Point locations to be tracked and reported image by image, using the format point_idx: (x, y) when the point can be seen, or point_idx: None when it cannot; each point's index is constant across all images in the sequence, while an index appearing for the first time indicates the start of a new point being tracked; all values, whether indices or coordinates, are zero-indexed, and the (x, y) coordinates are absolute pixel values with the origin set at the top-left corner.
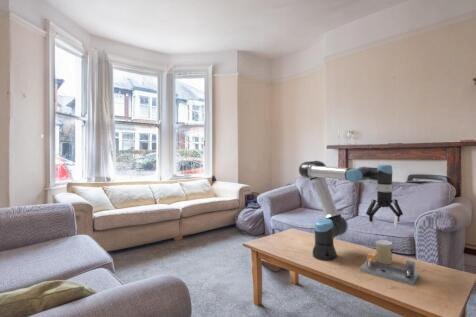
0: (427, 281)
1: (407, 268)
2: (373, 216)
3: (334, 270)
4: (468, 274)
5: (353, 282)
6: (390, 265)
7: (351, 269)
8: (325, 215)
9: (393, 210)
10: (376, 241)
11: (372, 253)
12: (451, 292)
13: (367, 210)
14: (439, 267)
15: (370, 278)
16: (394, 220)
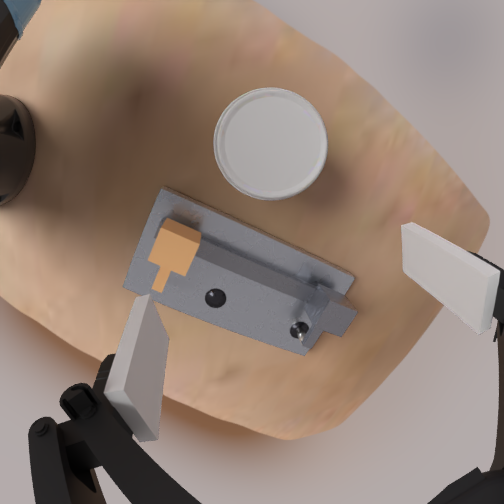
0: (357, 308)
1: (308, 338)
2: (147, 432)
3: (40, 293)
4: (486, 223)
5: None
6: (257, 268)
7: (94, 271)
8: None
9: (499, 409)
10: (221, 133)
11: (177, 241)
12: (383, 354)
13: (36, 476)
14: (447, 178)
15: None
16: (442, 255)
